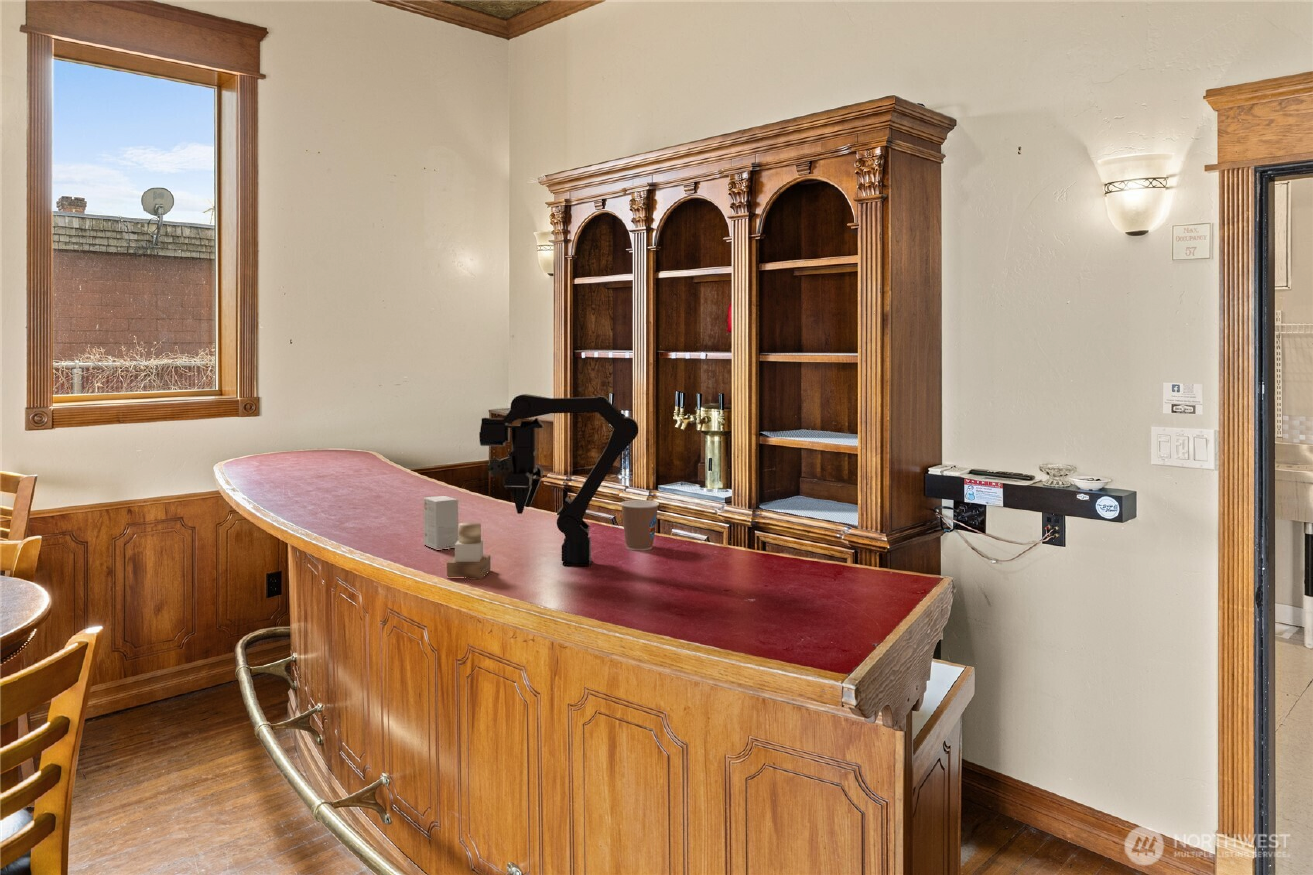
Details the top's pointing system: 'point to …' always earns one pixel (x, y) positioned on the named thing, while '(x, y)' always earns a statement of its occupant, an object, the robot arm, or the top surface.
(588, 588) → the top surface
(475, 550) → the grey block
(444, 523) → the small box
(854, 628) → the top surface
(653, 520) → the coffee cup
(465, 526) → the birch puck
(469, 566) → the walnut slab
